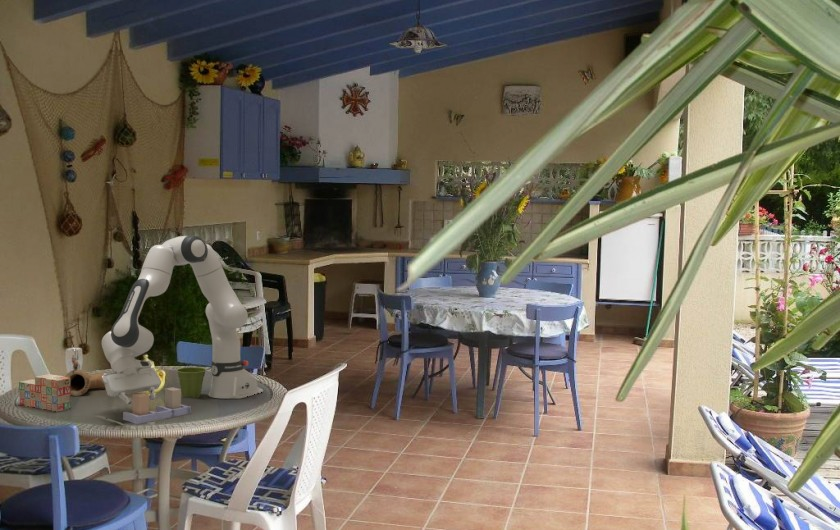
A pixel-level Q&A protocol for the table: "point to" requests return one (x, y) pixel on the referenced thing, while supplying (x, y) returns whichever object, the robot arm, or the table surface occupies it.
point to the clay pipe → (84, 381)
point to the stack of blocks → (46, 392)
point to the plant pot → (191, 381)
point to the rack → (157, 414)
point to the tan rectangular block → (140, 404)
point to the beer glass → (73, 359)
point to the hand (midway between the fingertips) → (141, 401)
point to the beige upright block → (172, 398)
